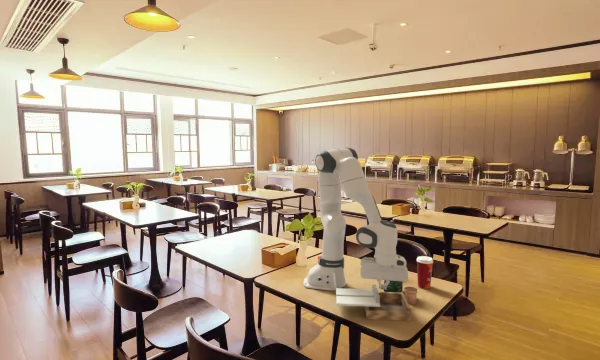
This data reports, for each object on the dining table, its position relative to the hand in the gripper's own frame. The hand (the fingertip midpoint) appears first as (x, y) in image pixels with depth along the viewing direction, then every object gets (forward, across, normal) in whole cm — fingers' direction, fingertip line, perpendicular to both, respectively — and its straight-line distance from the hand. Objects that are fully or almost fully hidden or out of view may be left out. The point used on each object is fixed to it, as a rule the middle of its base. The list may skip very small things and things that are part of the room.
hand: (382, 288), depth 149 cm
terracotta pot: (+9, +15, +9) cm, 19 cm away
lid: (+5, -11, -1) cm, 12 cm away
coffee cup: (+8, +26, +27) cm, 38 cm away
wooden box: (+9, +2, -1) cm, 10 cm away
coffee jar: (+9, +9, +19) cm, 23 cm away
